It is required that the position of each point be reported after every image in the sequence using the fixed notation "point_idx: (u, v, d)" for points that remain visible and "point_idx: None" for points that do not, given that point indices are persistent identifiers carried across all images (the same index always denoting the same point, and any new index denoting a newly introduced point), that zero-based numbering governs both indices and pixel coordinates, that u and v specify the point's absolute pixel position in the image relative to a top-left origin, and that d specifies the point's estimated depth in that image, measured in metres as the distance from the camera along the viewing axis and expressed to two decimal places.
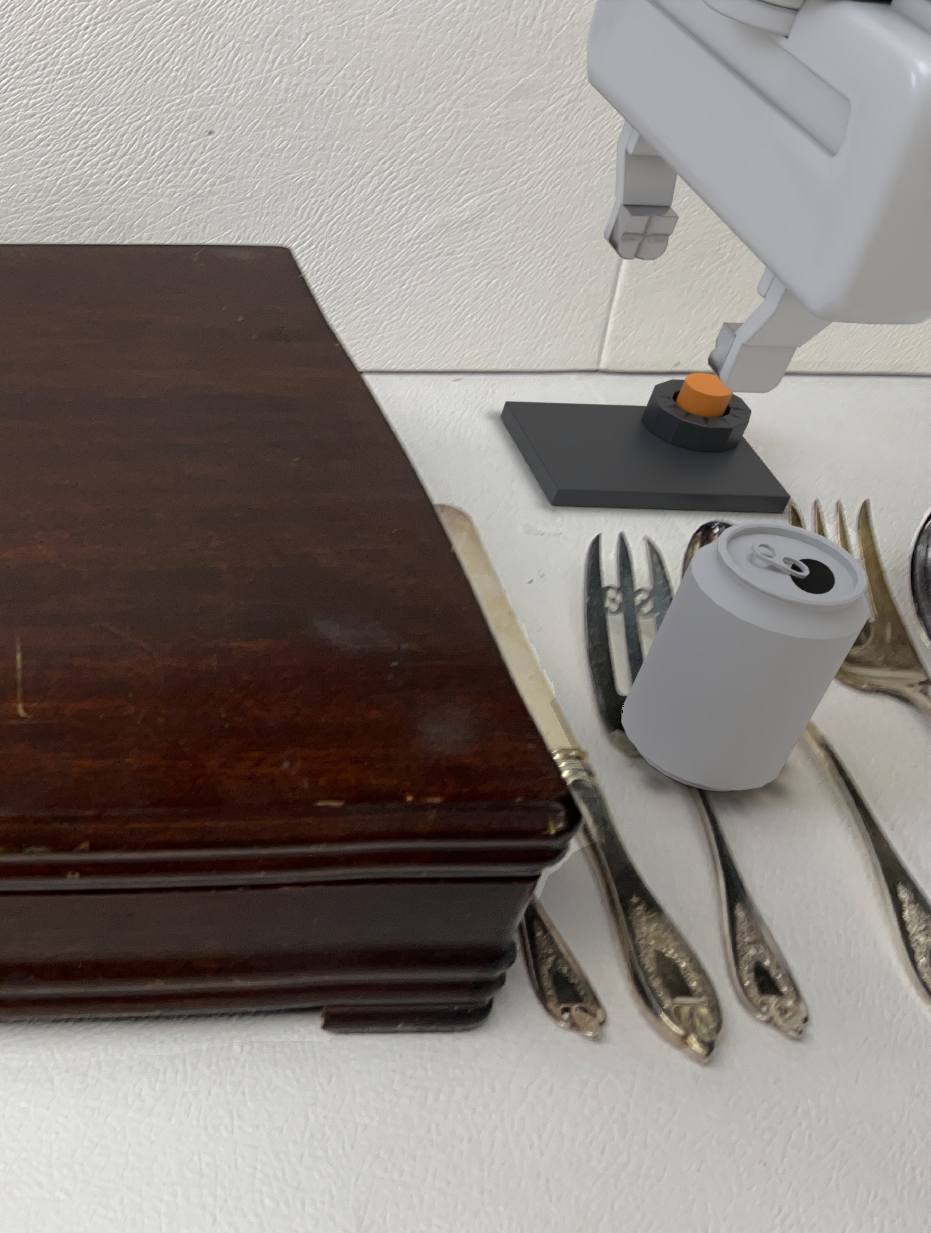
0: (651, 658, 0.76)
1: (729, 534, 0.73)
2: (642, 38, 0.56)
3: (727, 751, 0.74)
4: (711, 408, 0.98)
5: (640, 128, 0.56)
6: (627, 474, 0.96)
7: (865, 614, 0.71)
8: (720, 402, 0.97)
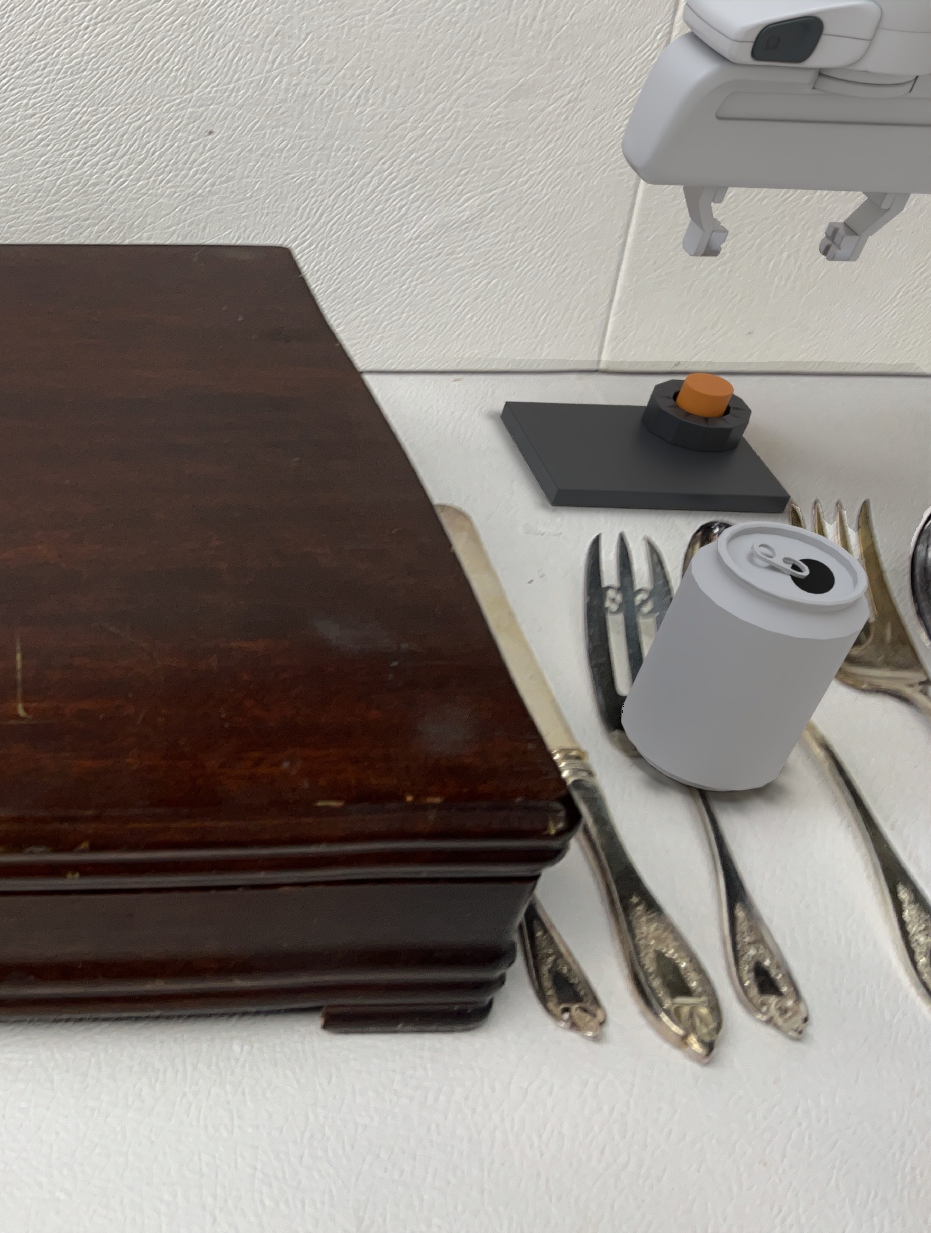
0: (651, 658, 0.76)
1: (729, 534, 0.73)
2: (730, 140, 0.86)
3: (727, 751, 0.74)
4: (711, 408, 0.98)
5: (748, 183, 0.88)
6: (627, 474, 0.96)
7: (865, 614, 0.71)
8: (720, 402, 0.97)
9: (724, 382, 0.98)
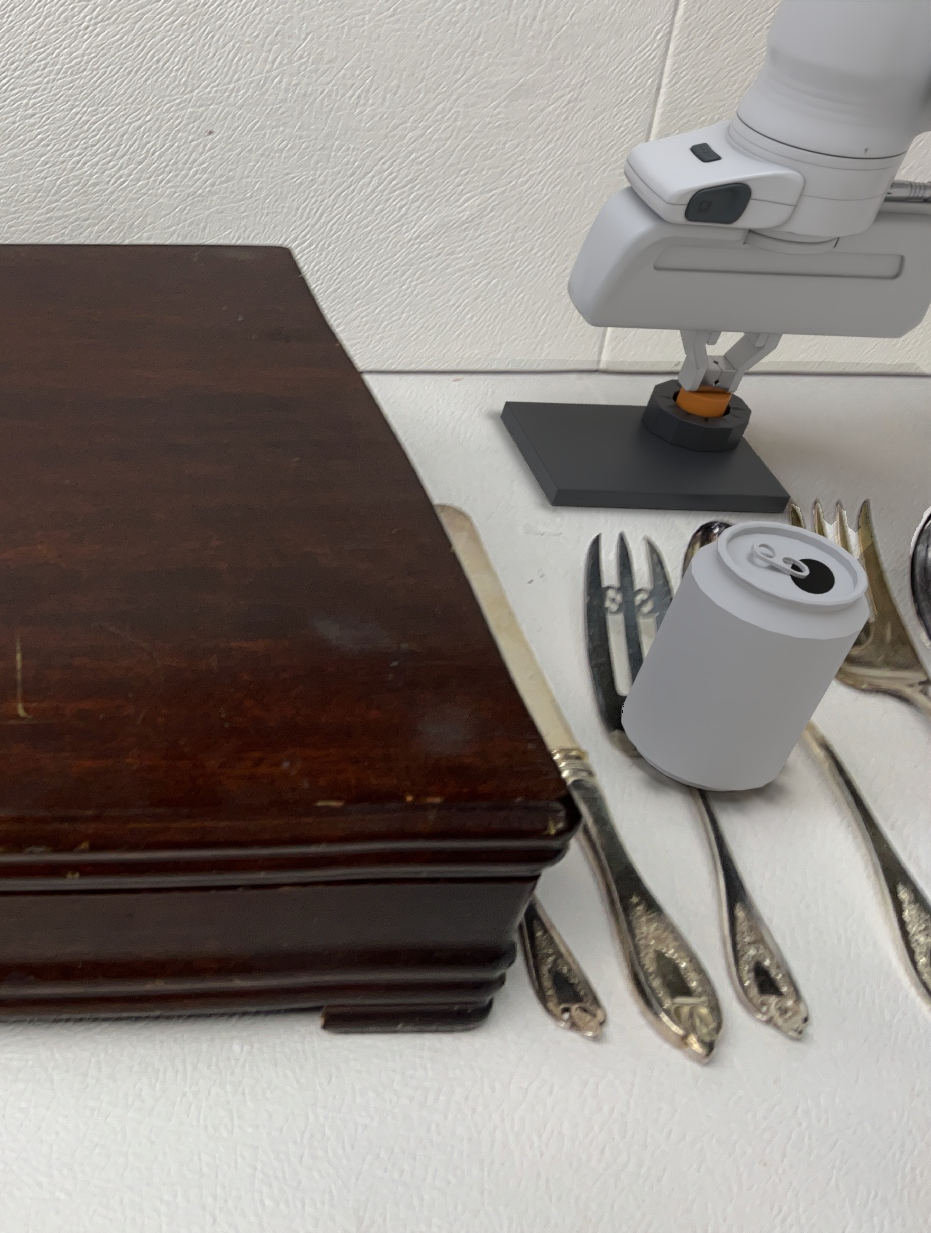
0: (651, 658, 0.76)
1: (729, 534, 0.73)
2: (667, 288, 0.92)
3: (727, 751, 0.74)
4: (709, 413, 0.98)
5: (684, 326, 0.94)
6: (627, 474, 0.96)
7: (865, 614, 0.71)
8: (718, 406, 0.98)
9: None
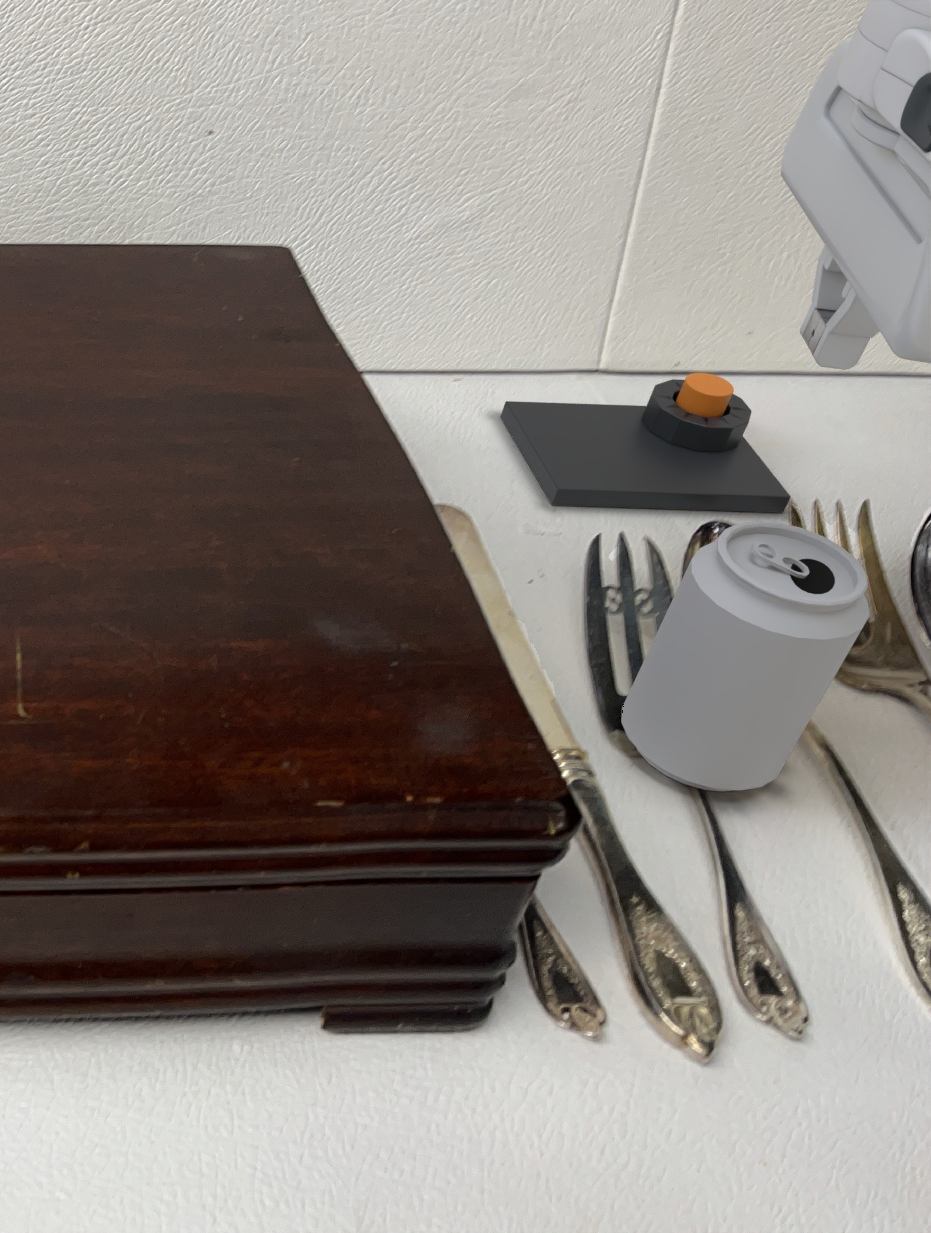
0: (651, 658, 0.76)
1: (729, 534, 0.73)
2: None
3: (727, 751, 0.74)
4: (711, 408, 0.98)
5: None
6: (627, 474, 0.96)
7: (865, 614, 0.71)
8: (720, 402, 0.97)
9: (724, 382, 0.98)
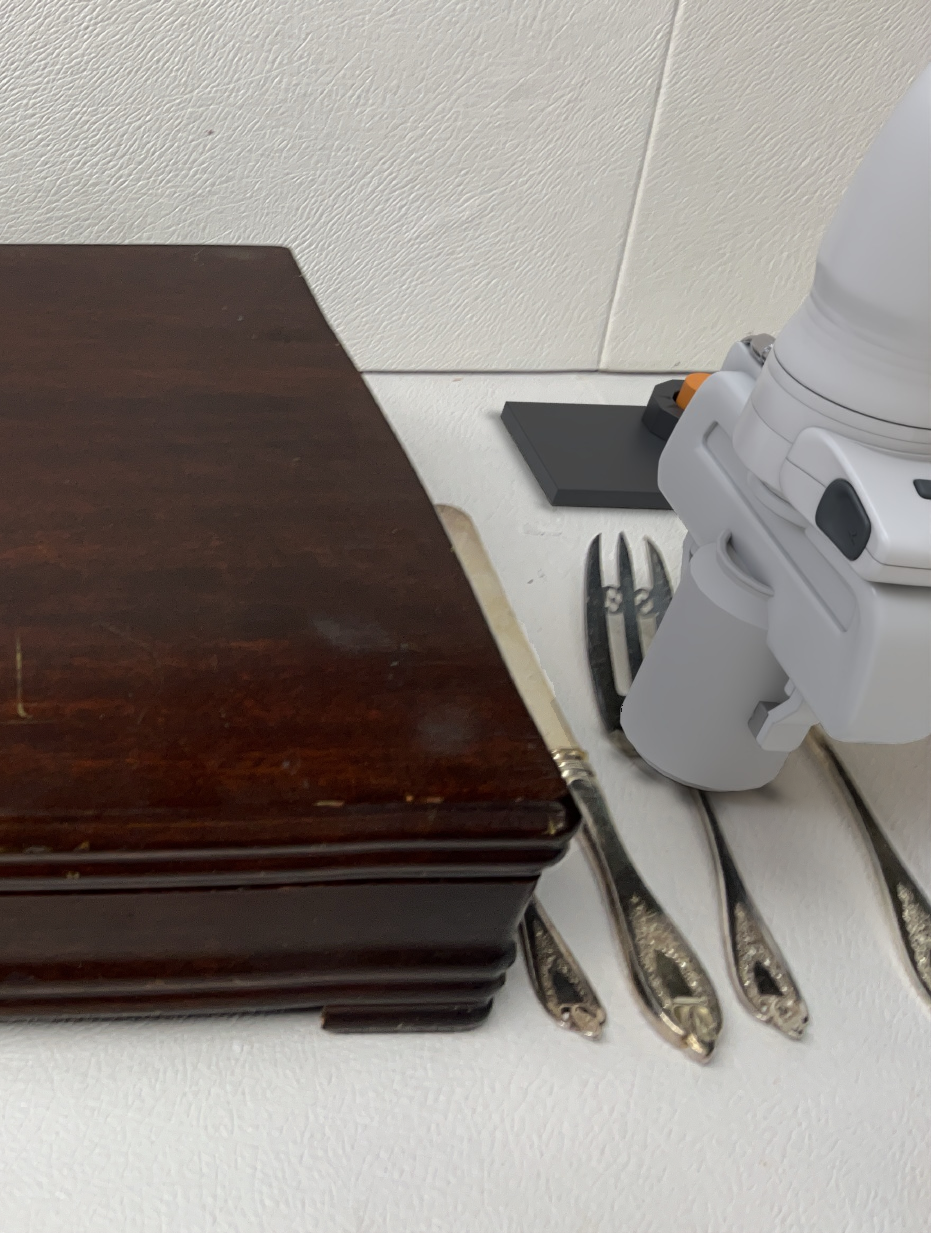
0: (650, 658, 0.76)
1: (728, 534, 0.73)
2: None
3: (726, 751, 0.74)
4: None
5: None
6: (627, 474, 0.96)
7: None
8: None
9: None
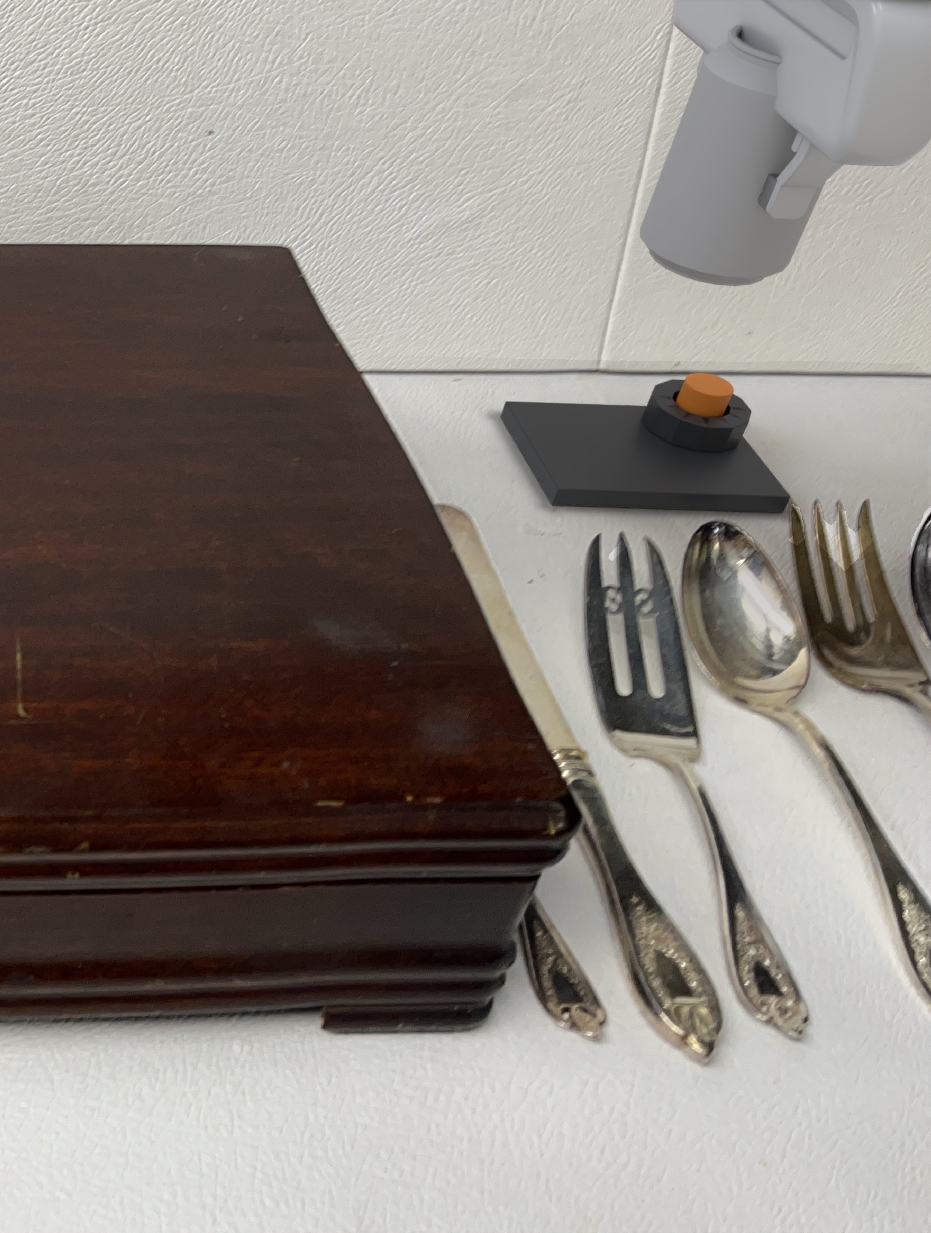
0: (667, 163, 0.83)
1: (738, 28, 0.80)
2: None
3: (738, 233, 0.81)
4: (711, 408, 0.98)
5: None
6: (627, 474, 0.96)
7: None
8: (720, 402, 0.97)
9: (724, 382, 0.98)
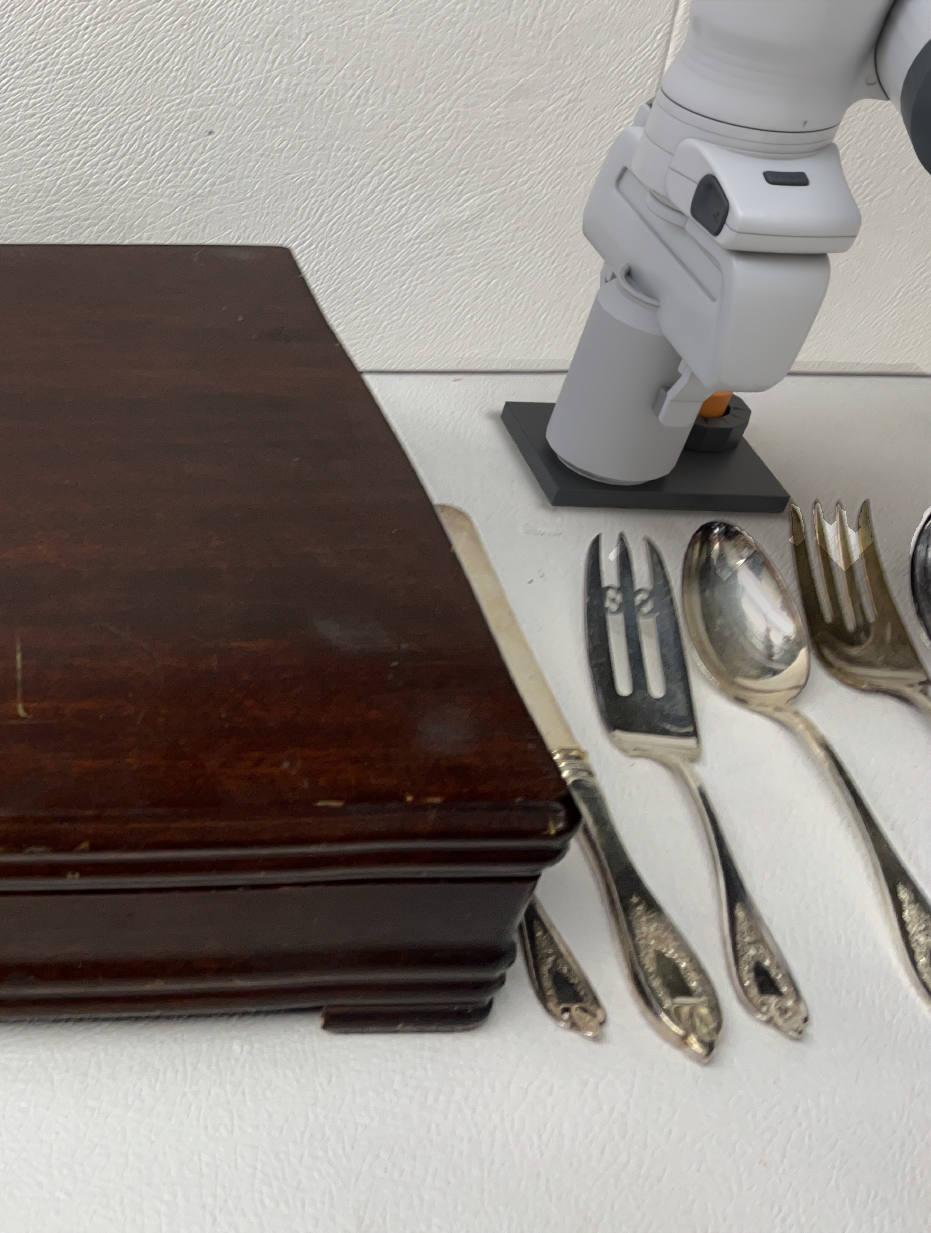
0: (568, 377, 0.95)
1: (627, 267, 0.91)
2: None
3: (627, 445, 0.92)
4: (711, 408, 0.98)
5: None
6: None
7: None
8: (720, 402, 0.97)
9: None
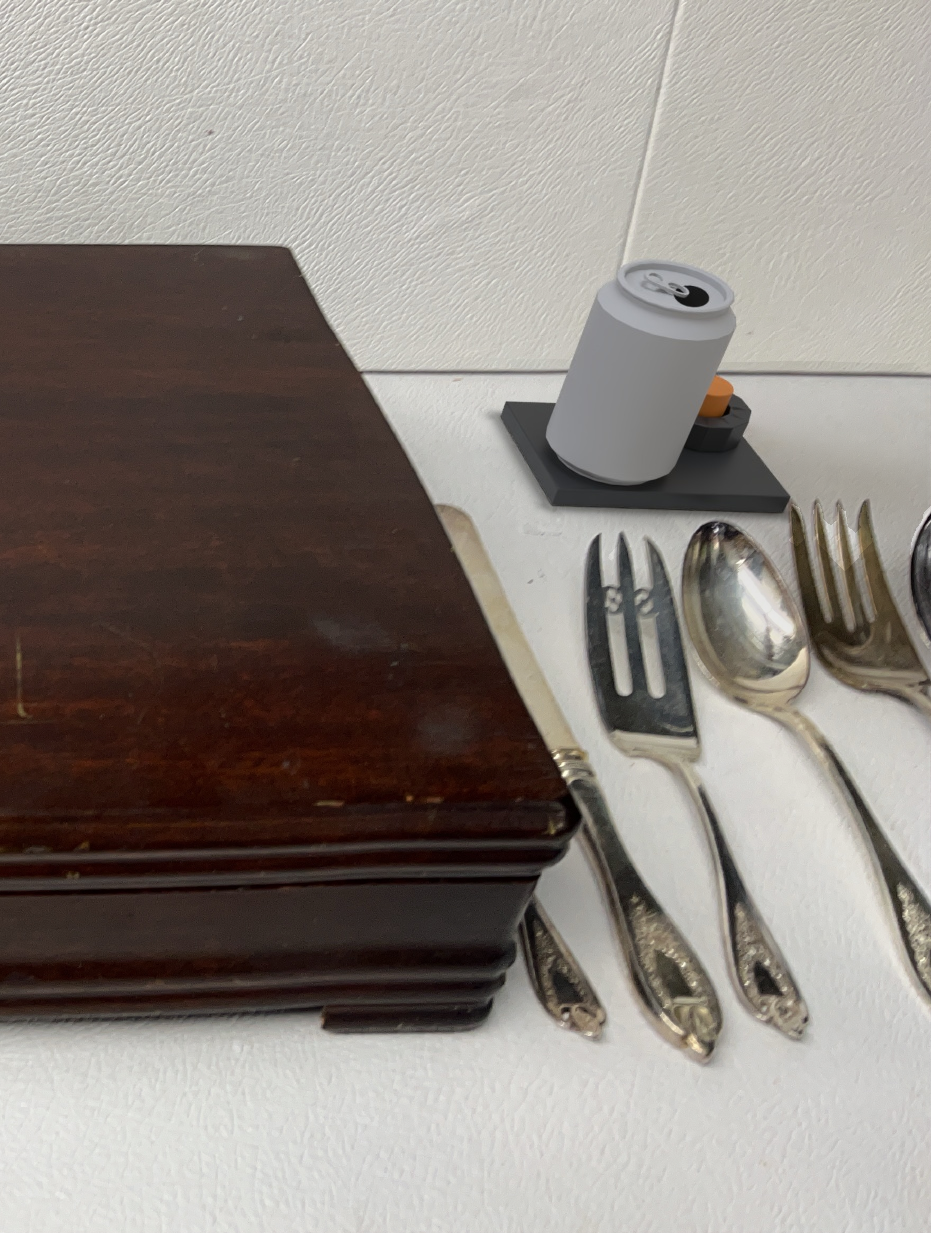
0: (568, 377, 0.95)
1: (627, 267, 0.91)
2: None
3: (627, 445, 0.92)
4: (711, 408, 0.98)
5: None
6: None
7: (732, 324, 0.89)
8: (720, 402, 0.97)
9: (724, 382, 0.98)
